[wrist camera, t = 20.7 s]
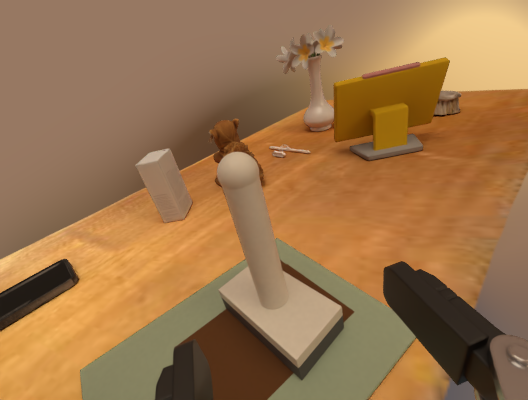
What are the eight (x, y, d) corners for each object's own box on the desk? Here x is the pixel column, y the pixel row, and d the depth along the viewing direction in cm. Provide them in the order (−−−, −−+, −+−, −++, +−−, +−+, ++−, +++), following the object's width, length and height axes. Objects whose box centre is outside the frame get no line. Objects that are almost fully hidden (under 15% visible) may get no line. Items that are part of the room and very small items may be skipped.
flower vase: (300, 123, 89) (287, 36, 77) (356, 120, 78) (351, 19, 66) (280, 137, 80) (262, 42, 68) (341, 135, 69) (332, 23, 57)
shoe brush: (466, 108, 67) (469, 87, 65) (452, 117, 64) (455, 95, 61) (378, 106, 85) (377, 90, 83) (364, 114, 82) (363, 97, 79)
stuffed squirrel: (251, 165, 65) (236, 111, 59) (280, 183, 53) (266, 117, 47) (213, 181, 62) (193, 125, 55) (235, 203, 50) (214, 135, 44)
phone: (-56, 323, 36) (65, 256, 44) (-49, 328, 37) (69, 261, 45) (-65, 360, 31) (75, 276, 39) (-57, 365, 31) (79, 282, 39)
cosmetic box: (173, 206, 55) (149, 152, 49) (193, 203, 54) (170, 147, 48) (163, 223, 49) (134, 165, 44) (184, 220, 49) (158, 160, 43)
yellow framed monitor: (426, 134, 59) (433, 54, 51) (447, 145, 52) (459, 55, 44) (335, 152, 61) (328, 78, 53) (344, 165, 54) (338, 83, 46)
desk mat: (81, 371, 27) (79, 370, 27) (277, 239, 38) (276, 237, 38) (115, 724, 12) (111, 724, 11) (422, 330, 23) (422, 328, 23)
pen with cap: (311, 153, 64) (310, 144, 63) (300, 160, 61) (299, 151, 60) (270, 148, 73) (268, 140, 72) (259, 154, 71) (257, 146, 70)
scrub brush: (225, 308, 29) (161, 159, 21) (265, 275, 32) (223, 133, 24) (302, 381, 21) (249, 190, 13) (344, 327, 24) (324, 145, 16)
